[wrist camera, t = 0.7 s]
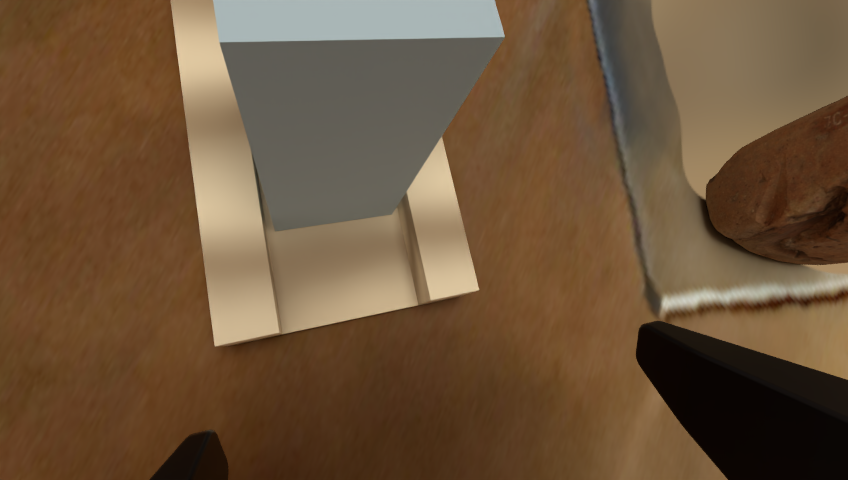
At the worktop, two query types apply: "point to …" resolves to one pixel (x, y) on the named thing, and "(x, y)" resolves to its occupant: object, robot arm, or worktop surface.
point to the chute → (307, 246)
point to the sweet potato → (789, 191)
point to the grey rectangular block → (349, 95)
